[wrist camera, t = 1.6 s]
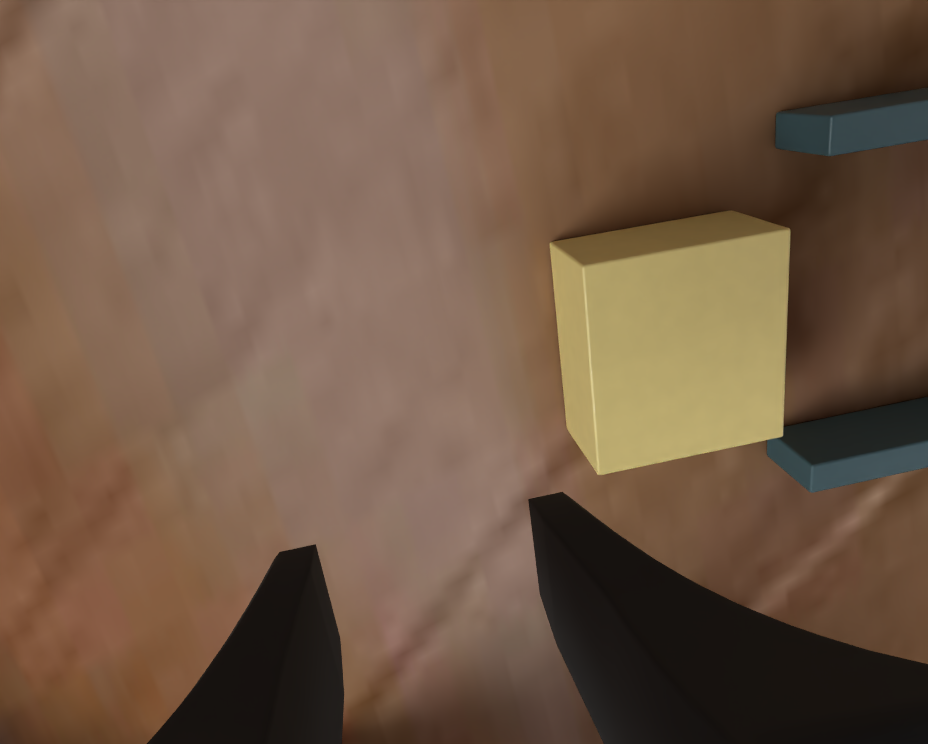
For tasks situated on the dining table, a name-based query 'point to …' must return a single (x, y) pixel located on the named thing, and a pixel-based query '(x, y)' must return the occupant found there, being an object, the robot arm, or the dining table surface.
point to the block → (672, 337)
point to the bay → (878, 429)
